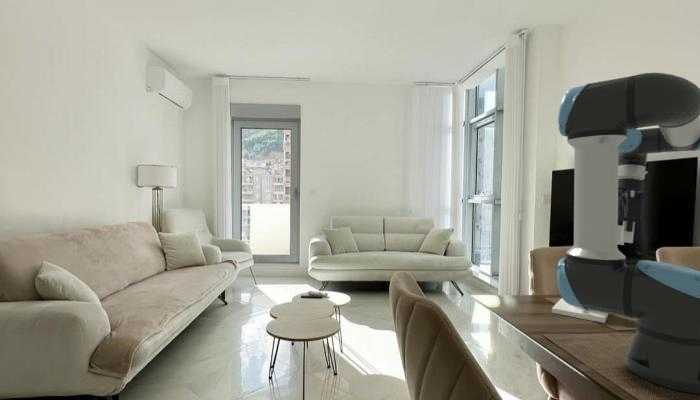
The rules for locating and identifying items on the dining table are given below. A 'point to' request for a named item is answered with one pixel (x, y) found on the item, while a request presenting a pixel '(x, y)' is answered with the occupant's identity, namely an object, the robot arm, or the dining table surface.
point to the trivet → (578, 312)
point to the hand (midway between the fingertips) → (622, 243)
